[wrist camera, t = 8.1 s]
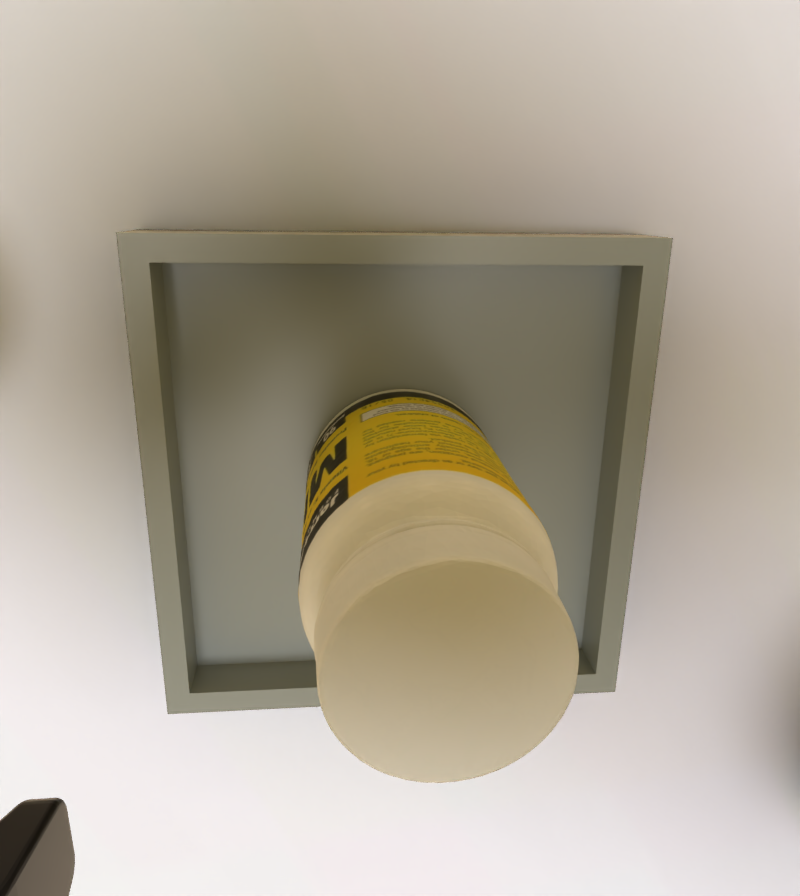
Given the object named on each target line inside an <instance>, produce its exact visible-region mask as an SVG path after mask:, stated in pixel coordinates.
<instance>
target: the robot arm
mask: <svg viewBox="0 0 800 896" xmlns="http://www.w3.org/2000/svg"><path fill="white" fill-rule="evenodd" d="M74 866H75V854H74V848H73V842H72V836H71V830H70V824H69V818H68V812H67V807H66V805H65V803H64V801H63V800H62V799H59V798H45V799H29V800H26V801H23V802H21V803H20V804H18V805H17V806H16V807H15V808H14V809H12V810H11V811H10V812H9V813H8V814H7V815H6V816H5V817H3V818H2V819H1V820H0V896H69V892H70V888H71V884H72V879H73V874H74Z"/></svg>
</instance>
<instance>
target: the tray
mask: <svg viewBox="0 0 800 896" xmlns="http://www.w3.org/2000/svg"><path fill="white" fill-rule="evenodd" d="M116 234H117V243H118V253H119V262H120V271H121V281H122V290H123V299H124V309H125V318H126V328H127V337H128V346H129V356H130V365H131V374H132V384H133V393H134V402H135V412H136V421H137V431H138V440H139V449H140V459H141V468H142V477H143V487H144V496H145V505H146V515H147V524H148V534H149V543H150V552H151V562H152V571H153V580H154V590H155V599H156V609H157V618H158V627H159V637H160V646H161V655H162V665H163V674H164V683H165V693H166V702H167V712H168V714H178V713H198V712H218V711H238V710H258V709H278V708H298V707H318V706H321V704H320V701H319V697H318V690H317V677H316V661H315V655H314V651H313V649H312V648H311V645H310V643H309V641H308V638H307V636H306V633H305V631H304V627H303V623H302V619H301V612H300V606H299V596H298V587H299V571H300V560H301V550H302V533H303V522H304V510H305V499H306V481H307V473H308V467H309V461H310V457H311V454H312V451H313V449H314V446H315V444H316V442H317V440H318V438H319V436H320V435H321V433H322V431H323V430H324V429H325V427H326V426H327V425H328V423H329V422H330V421H331V420H332V419H333V418H334V417H335V416H336V415H337V414H338V413H339V412H340V411H342V410H343V409H344V408H345V407H347V406H349V405H350V404H352V403H353V402H355V401H357V400H359V399H361V398H363V397H365V396H368V395H371V394H374V393H377V392H381V391H386V390H394V389H414V390H421V391H425V392H429V393H433V394H436V395H439V396H441V397H443V398H445V399H447V400H449V401H451V402H453V403H454V404H456V405H457V406H459V407H460V408H461V409H462V410H464V411H465V412H466V413H467V414H468V415H469V416H470V417H471V418H472V419H473V420H474V421H475V422H476V424H477V425H478V426H479V428H480V429H481V430H482V432H483V433H484V435H485V437H486V438H487V440H488V441H489V443H490V445H491V446H492V448H493V450H494V451H495V453H496V454H497V456H498V458H499V459H500V461H501V462H502V464H503V465H504V467H505V469H506V470H507V472H508V473H509V475H510V477H511V478H512V480H513V481H514V483H515V484H516V486H517V487H518V489H519V490H520V492H521V493H522V495H523V496H524V498H525V499H526V501H527V502H528V504H529V505H530V507H531V508H532V510H533V511H534V513H535V514H536V515H537V517H538V518H539V520H540V522H541V523H542V525H543V527H544V529H545V530H546V532H547V535H548V537H549V539H550V542H551V545H552V548H553V552H554V556H555V560H556V566H557V575H558V596H559V598H560V600H561V602H562V604H563V606H564V608H565V610H566V612H567V614H568V616H569V617H570V619H571V622H572V625H573V628H574V631H575V634H576V638H577V643H578V651H579V667H578V674H577V681H576V686H575V690H574V693H573V694H578V693H598V692H615V687H616V679H617V672H618V664H619V656H620V648H621V640H622V632H623V625H624V617H625V609H626V601H627V593H628V585H629V577H630V570H631V562H632V554H633V546H634V538H635V530H636V523H637V515H638V507H639V499H640V491H641V483H642V475H643V468H644V460H645V452H646V444H647V436H648V428H649V421H650V413H651V405H652V397H653V389H654V381H655V373H656V366H657V358H658V350H659V342H660V334H661V326H662V319H663V311H664V303H665V295H666V287H667V279H668V271H669V264H670V256H671V248H672V240H673V238H668V237H658V236H648V235H623V234H523V233H424V232H325V231H226V230H132V231H124V232H117V233H116Z"/></svg>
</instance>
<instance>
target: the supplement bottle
mask: <svg viewBox="0 0 800 896" xmlns="http://www.w3.org/2000/svg"><path fill="white" fill-rule="evenodd" d="M298 596H299V606H300V612H301V619H302V623H303V627H304V631H305V633H306V636H307V638H308V641H309V643H310V645H311V648H312V649H313V651H314V655H315V661H316V677H317V690H318V697H319V701H320V704H321V708H322V711H323V714H324V716H325V719H326V721H327V723H328V725H329V727H330V728H331V730H332V732H333V733H334V735H335V736H336V737H337V738H338V740H339V741H340V742H341V743H342V744H343V745H344V746H345V747H346V748H347V749H348V750H349V751H350V752H351V753H352V754H353V755H355V756H356V757H357V758H358V759H360V760H361V761H362V762H364V763H366V764H367V765H369V766H371V767H372V768H374V769H376V770H378V771H381V772H383V773H385V774H388V775H391V776H395V777H398V778H402V779H405V780H411V781H417V782H425V783H428V782H435V783H443V782H455V781H461V780H466V779H471V778H475V777H479V776H483V775H486V774H488V773H491V772H494V771H497V770H499V769H501V768H503V767H505V766H507V765H509V764H511V763H513V762H515V761H516V760H518V759H520V758H522V757H523V756H524V755H526V754H527V753H528V752H530V751H531V750H532V749H533V748H535V747H536V746H537V745H538V744H539V743H540V742H541V741H543V740H544V739H545V738H546V737H547V736H548V734H549V733H550V732H551V731H552V730H553V728H554V727H555V726H556V724H557V723H558V722H559V720H560V719H561V717H562V716H563V714H564V712H565V710H566V708H567V706H568V704H569V702H570V700H571V698H572V696H573V693H574V690H575V686H576V681H577V674H578V667H579V651H578V643H577V638H576V634H575V631H574V628H573V625H572V622H571V619H570V617H569V616H568V614H567V612H566V610H565V608H564V606H563V604H562V602H561V600H560V598H559V596H558V575H557V566H556V560H555V556H554V552H553V548H552V545H551V542H550V539H549V537H548V535H547V532H546V530H545V529H544V527H543V525H542V523H541V522H540V520H539V518H538V517H537V515H536V514H535V513H534V511H533V510H532V508H531V507H530V505H529V504H528V502H527V501H526V499H525V498H524V496H523V495H522V493H521V492H520V490H519V489H518V487H517V486H516V484H515V483H514V481H513V480H512V478H511V477H510V475H509V473H508V472H507V470H506V469H505V467H504V465H503V464H502V462H501V461H500V459H499V458H498V456H497V454H496V453H495V451H494V450H493V448H492V446H491V445H490V443H489V441H488V440H487V438H486V437H485V435H484V433H483V432H482V430H481V429H480V428H479V426H478V425H477V424H476V422H475V421H474V420H473V419H472V418H471V417H470V416H469V415H468V414H467V413H466V412H465V411H464V410H462V409H461V408H460V407H459V406H457V405H456V404H454V403H453V402H451V401H449V400H447V399H445V398H443V397H441V396H439V395H436V394H433V393H429V392H425V391H421V390H414V389H394V390H386V391H381V392H377V393H374V394H371V395H368V396H365V397H363V398H361V399H359V400H357V401H355V402H353V403H352V404H350V405H349V406H347V407H345V408H344V409H343V410H342V411H340V412H339V413H338V414H337V415H336V416H335V417H334V418H333V419H332V420H331V421H330V422H329V423H328V425H327V426H326V427H325V429H324V430H323V431H322V433H321V435H320V436H319V438H318V440H317V442H316V444H315V446H314V449H313V451H312V454H311V457H310V461H309V467H308V473H307V481H306V499H305V510H304V522H303V533H302V550H301V560H300V571H299V587H298Z"/></svg>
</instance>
